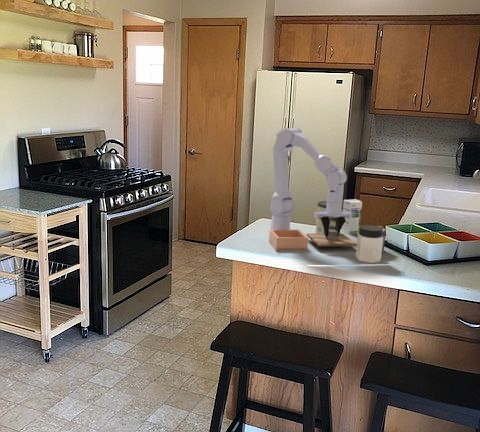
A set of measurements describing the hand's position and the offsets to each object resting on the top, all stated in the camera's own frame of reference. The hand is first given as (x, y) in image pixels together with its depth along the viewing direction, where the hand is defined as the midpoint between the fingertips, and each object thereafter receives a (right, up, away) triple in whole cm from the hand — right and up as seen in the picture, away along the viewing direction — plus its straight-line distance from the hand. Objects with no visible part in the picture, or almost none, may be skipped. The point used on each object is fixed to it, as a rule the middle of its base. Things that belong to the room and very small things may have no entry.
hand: (331, 235), depth 196 cm
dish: (-17, -4, -1) cm, 17 cm away
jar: (+11, -8, -14) cm, 19 cm away
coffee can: (+1, -1, +16) cm, 16 cm away
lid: (0, -2, 0) cm, 2 cm away
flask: (+16, -7, -5) cm, 18 cm away
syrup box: (+12, 0, +23) cm, 26 cm away
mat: (0, -4, +1) cm, 4 cm away
